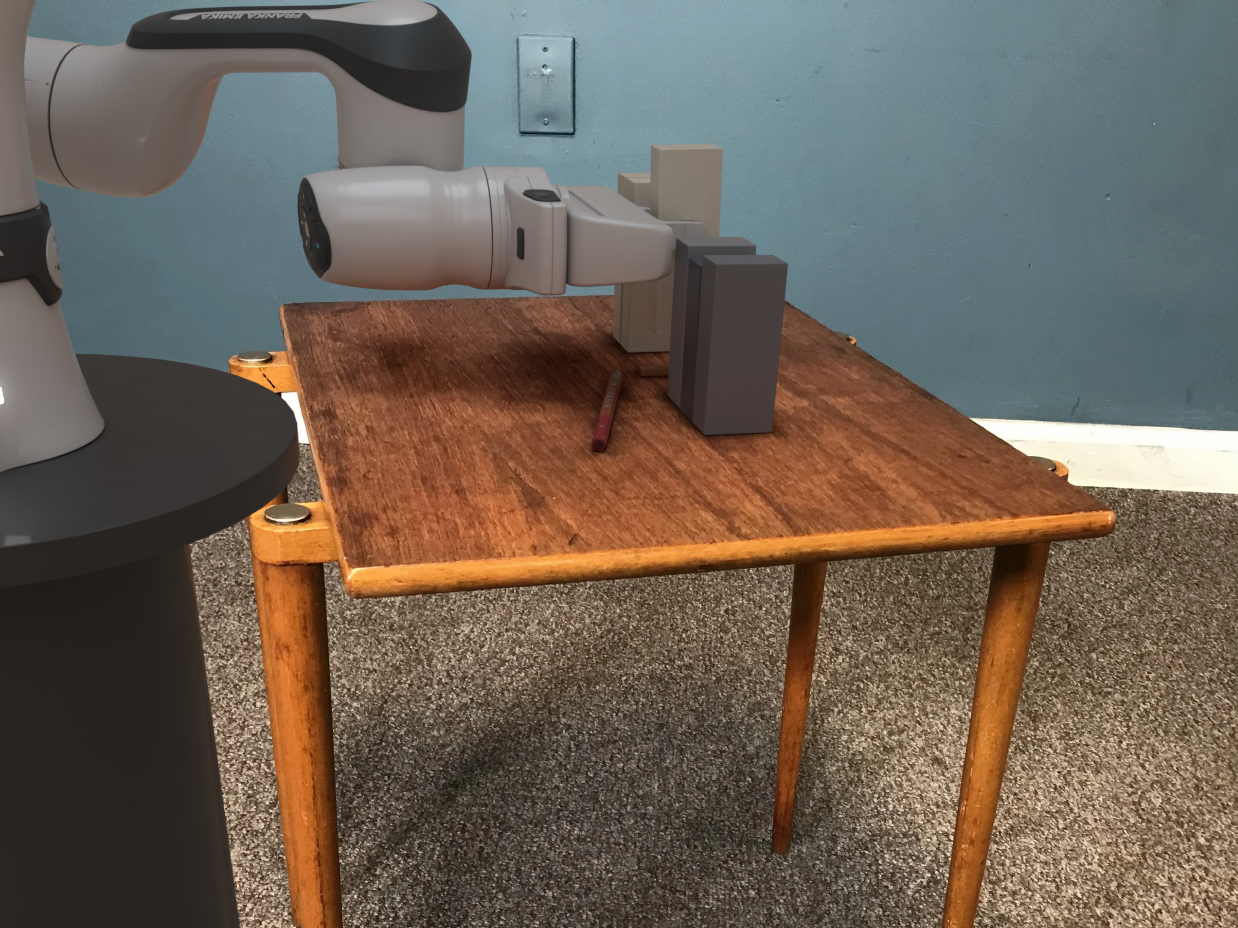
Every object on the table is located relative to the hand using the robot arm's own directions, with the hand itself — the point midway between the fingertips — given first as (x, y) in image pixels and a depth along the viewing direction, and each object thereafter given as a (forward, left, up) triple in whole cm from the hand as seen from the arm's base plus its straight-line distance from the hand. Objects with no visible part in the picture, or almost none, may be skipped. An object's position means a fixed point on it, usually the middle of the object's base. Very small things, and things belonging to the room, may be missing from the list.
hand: (696, 228), depth 100 cm
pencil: (-9, -9, -12) cm, 17 cm away
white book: (-1, 0, -8) cm, 8 cm away
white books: (-1, +6, -11) cm, 13 cm away
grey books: (-1, -11, -11) cm, 16 cm away
